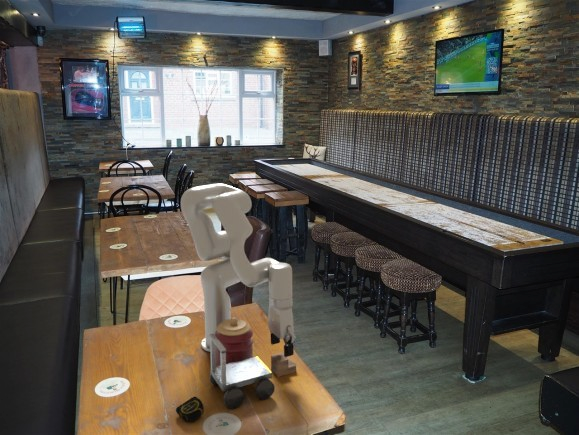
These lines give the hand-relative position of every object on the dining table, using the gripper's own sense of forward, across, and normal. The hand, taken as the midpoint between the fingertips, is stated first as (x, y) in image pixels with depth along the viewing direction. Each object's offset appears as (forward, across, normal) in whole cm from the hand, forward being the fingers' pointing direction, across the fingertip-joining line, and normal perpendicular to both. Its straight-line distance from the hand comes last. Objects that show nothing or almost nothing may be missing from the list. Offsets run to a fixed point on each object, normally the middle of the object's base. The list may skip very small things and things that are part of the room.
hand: (281, 349), depth 159 cm
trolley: (+8, +4, -16) cm, 19 cm away
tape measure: (+8, +6, -33) cm, 34 cm away
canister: (+8, -12, -12) cm, 19 cm away
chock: (+9, -1, +1) cm, 9 cm away
